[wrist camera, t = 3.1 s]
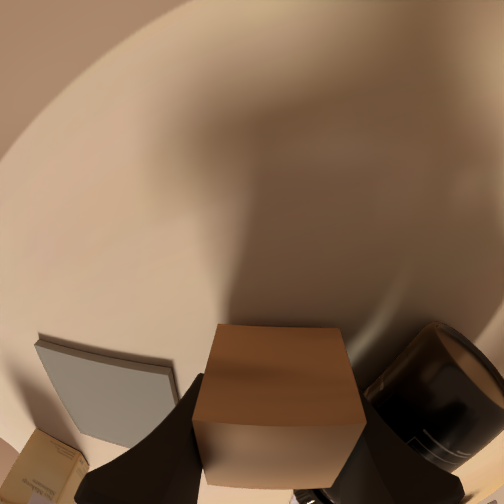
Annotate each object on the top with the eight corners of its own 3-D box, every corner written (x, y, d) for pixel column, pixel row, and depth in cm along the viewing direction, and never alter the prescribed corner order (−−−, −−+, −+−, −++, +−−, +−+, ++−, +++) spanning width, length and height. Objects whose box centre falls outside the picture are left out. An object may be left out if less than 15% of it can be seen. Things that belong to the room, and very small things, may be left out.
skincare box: (82, 451, 20) (41, 540, 9) (91, 468, 22) (57, 548, 10) (34, 426, 20) (-11, 504, 9) (46, 445, 22) (8, 517, 10)
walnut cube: (320, 404, 13) (330, 487, 9) (222, 401, 14) (207, 484, 9) (338, 327, 12) (366, 422, 7) (218, 323, 12) (191, 419, 7)
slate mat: (192, 454, 18) (190, 461, 17) (83, 427, 18) (80, 432, 17) (171, 367, 14) (168, 375, 14) (38, 339, 15) (33, 344, 14)
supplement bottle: (406, 299, 11) (268, 443, 15) (494, 416, 5) (281, 539, 9) (469, 334, 13) (347, 450, 17) (531, 413, 7) (370, 525, 11)
